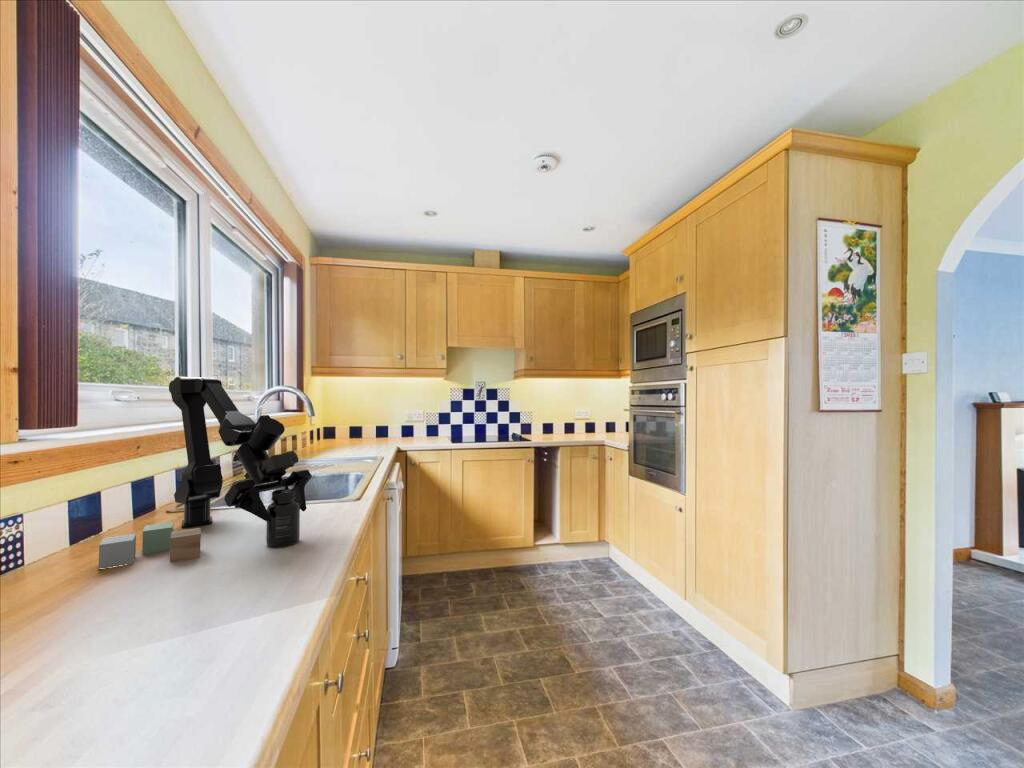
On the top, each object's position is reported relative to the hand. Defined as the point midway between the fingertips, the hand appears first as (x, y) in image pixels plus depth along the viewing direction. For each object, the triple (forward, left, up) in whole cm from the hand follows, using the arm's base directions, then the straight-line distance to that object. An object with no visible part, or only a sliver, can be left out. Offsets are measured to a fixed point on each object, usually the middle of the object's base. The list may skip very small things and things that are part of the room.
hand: (287, 515), depth 99 cm
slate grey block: (-7, -30, -7) cm, 31 cm away
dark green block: (-13, -24, -7) cm, 28 cm away
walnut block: (-4, -19, -7) cm, 20 cm away
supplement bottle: (-1, -1, -7) cm, 7 cm away
